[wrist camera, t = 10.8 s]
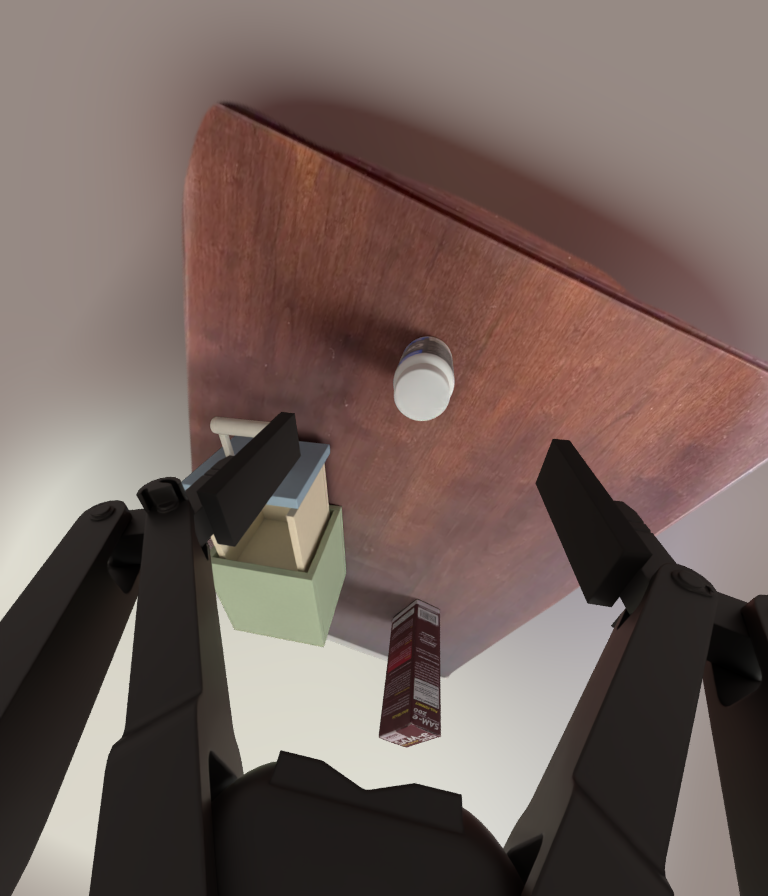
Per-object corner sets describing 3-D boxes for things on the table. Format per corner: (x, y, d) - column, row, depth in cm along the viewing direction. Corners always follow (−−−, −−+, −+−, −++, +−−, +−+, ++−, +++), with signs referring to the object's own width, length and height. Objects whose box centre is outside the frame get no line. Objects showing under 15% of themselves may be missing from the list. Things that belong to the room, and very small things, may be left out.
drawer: (225, 394, 32) (157, 436, 25) (326, 403, 31) (287, 451, 23) (259, 515, 42) (219, 573, 35) (336, 526, 41) (312, 589, 33)
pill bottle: (418, 325, 26) (410, 349, 19) (462, 353, 27) (470, 386, 20) (392, 370, 29) (376, 405, 22) (433, 394, 29) (430, 436, 22)
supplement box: (414, 628, 54) (406, 749, 40) (391, 618, 53) (375, 737, 40) (442, 609, 49) (443, 738, 36) (417, 597, 48) (408, 724, 35)
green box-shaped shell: (254, 494, 41) (201, 561, 32) (341, 506, 40) (311, 580, 31) (272, 560, 49) (234, 629, 40) (346, 572, 48) (323, 647, 39)
